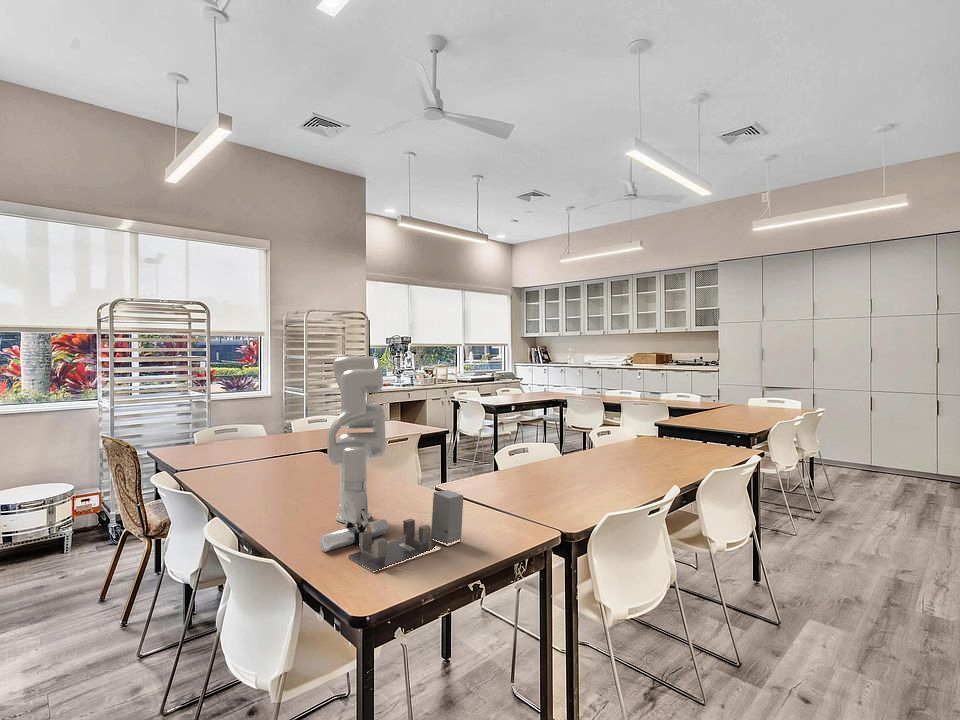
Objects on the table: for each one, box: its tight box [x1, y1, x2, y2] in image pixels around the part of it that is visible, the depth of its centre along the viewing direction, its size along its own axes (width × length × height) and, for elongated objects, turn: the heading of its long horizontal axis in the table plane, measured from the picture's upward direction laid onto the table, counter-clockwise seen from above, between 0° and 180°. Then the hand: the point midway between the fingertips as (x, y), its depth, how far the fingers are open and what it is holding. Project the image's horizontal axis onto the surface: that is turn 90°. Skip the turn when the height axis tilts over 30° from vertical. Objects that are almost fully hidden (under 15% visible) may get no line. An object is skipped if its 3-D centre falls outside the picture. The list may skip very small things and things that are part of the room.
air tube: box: [319, 518, 389, 553], centre depth 165 cm, size 22×5×5 cm, turn 134°
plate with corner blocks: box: [348, 518, 437, 571], centre depth 155 cm, size 14×24×8 cm, turn 134°
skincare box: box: [431, 489, 464, 544], centre depth 165 cm, size 8×7×16 cm
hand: (355, 540), depth 165 cm, fingers closed on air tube, 5 cm apart
